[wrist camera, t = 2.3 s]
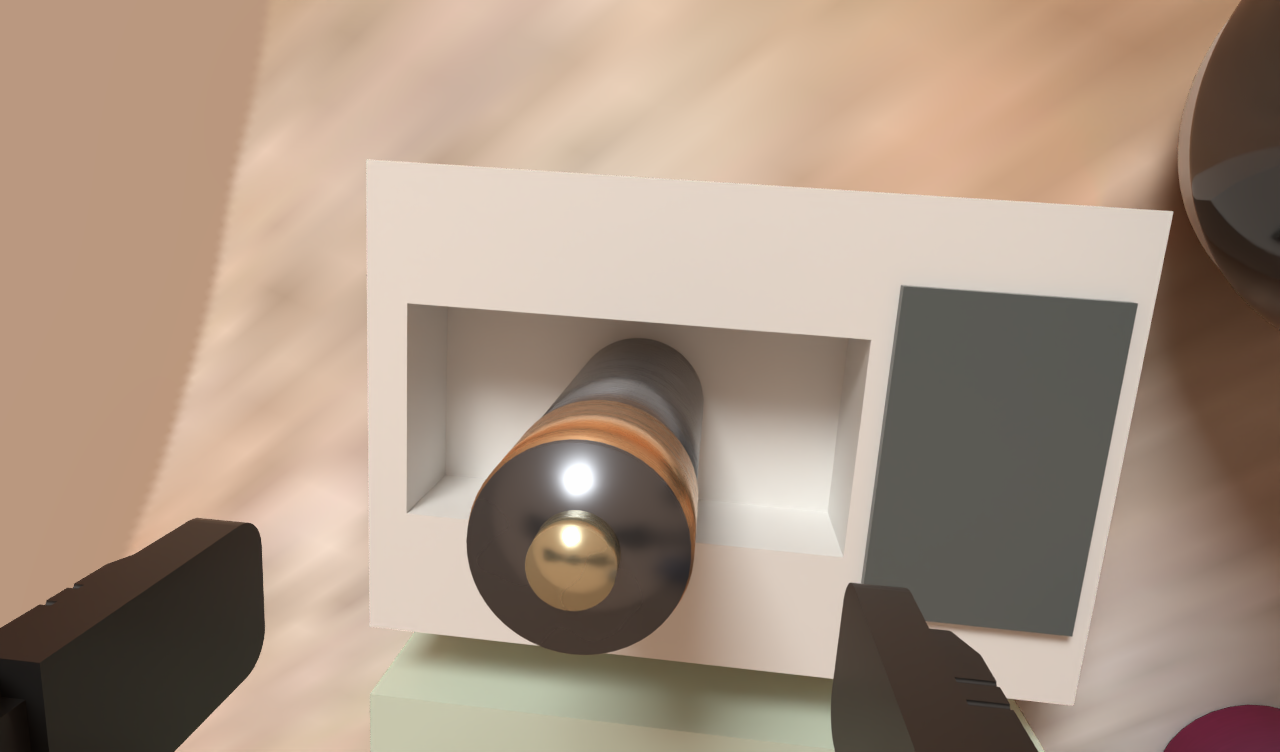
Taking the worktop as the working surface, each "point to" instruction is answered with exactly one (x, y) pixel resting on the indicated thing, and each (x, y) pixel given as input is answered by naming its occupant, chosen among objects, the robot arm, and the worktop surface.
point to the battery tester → (773, 396)
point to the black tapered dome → (1238, 154)
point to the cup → (1231, 731)
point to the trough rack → (591, 703)
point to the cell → (596, 506)
